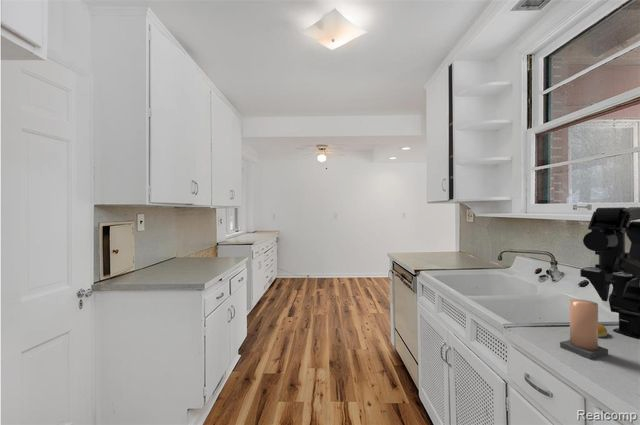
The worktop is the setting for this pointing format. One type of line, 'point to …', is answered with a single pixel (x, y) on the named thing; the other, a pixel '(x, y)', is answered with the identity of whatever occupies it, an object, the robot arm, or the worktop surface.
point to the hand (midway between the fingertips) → (612, 299)
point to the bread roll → (601, 331)
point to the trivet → (584, 350)
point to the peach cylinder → (584, 324)
